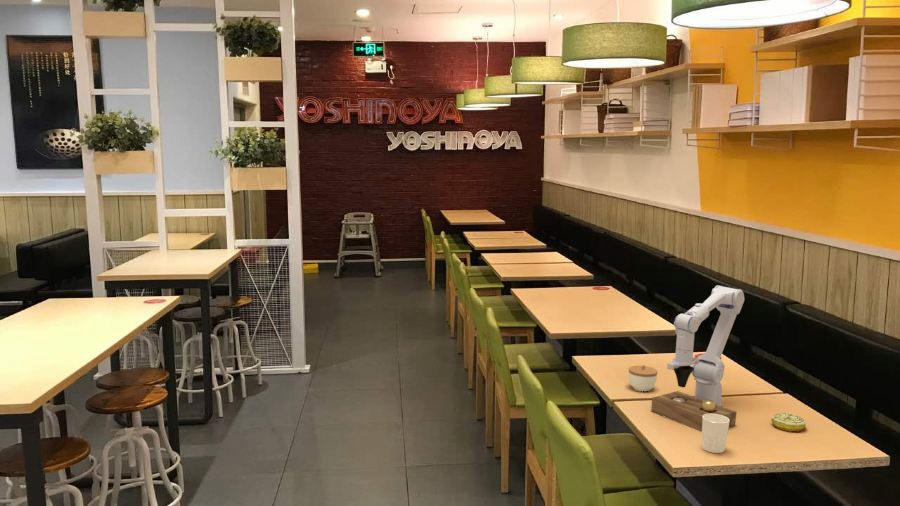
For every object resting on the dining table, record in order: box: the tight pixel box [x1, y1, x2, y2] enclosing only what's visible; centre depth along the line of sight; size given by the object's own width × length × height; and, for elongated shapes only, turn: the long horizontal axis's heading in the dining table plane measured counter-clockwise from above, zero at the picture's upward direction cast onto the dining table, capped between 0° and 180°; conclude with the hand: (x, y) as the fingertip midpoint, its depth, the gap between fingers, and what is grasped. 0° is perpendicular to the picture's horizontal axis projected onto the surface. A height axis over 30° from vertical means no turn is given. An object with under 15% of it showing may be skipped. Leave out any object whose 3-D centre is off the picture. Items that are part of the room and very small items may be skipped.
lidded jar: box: [628, 364, 659, 393], centre depth 282 cm, size 11×11×9 cm
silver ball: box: [673, 398, 685, 402], centre depth 258 cm, size 4×4×4 cm
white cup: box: [701, 414, 730, 454], centre depth 228 cm, size 8×8×10 cm
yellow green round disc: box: [770, 412, 807, 432], centre depth 248 cm, size 10×11×4 cm
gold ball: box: [702, 399, 715, 413], centre depth 248 cm, size 4×4×4 cm
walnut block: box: [650, 390, 737, 432], centre depth 253 cm, size 14×24×5 cm, turn 35°
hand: (681, 386), depth 256 cm, fingers closed
